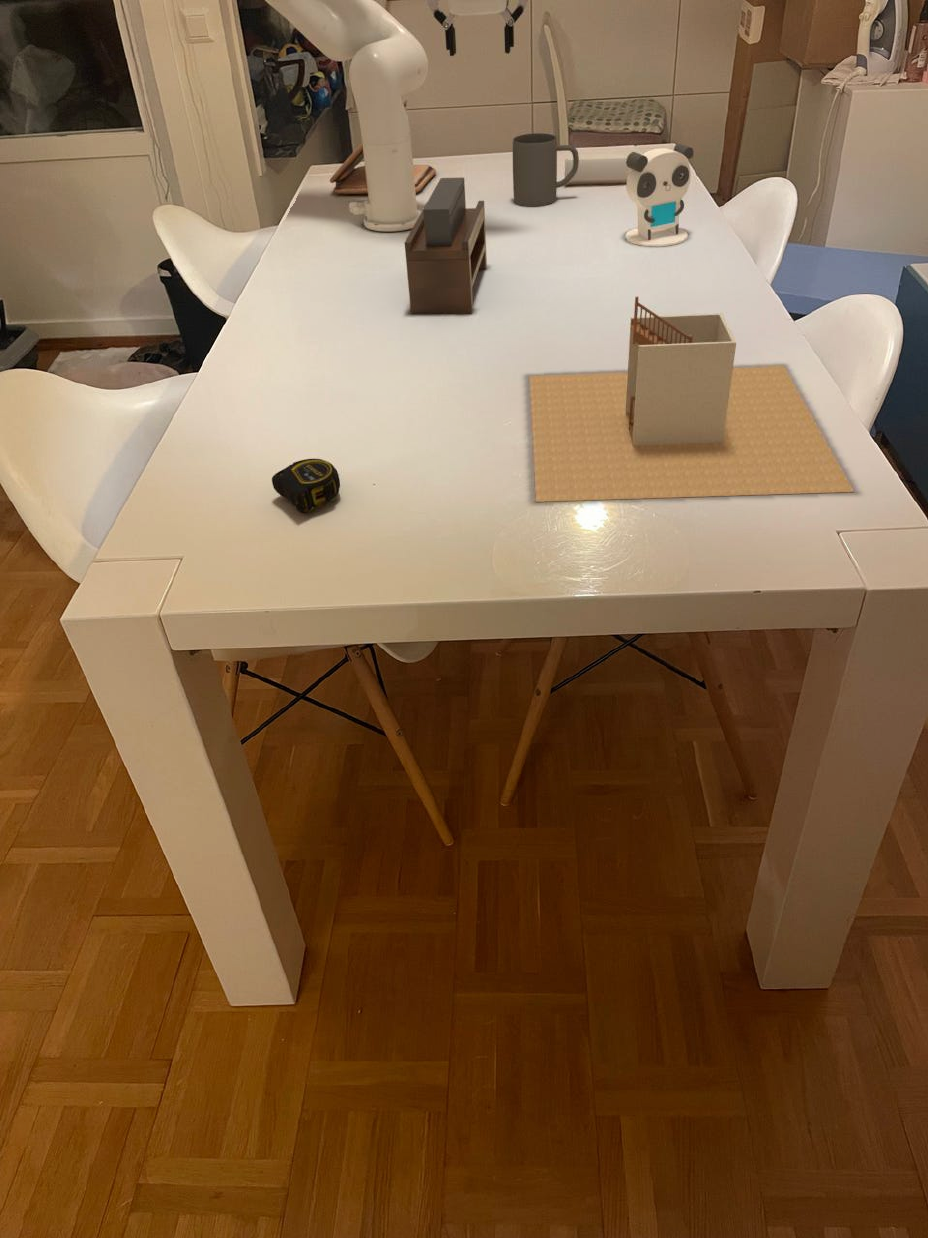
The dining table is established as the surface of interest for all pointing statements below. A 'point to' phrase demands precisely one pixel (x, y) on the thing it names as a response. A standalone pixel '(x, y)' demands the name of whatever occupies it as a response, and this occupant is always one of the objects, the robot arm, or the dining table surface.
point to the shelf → (446, 266)
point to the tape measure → (307, 483)
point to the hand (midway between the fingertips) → (480, 53)
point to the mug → (538, 168)
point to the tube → (598, 171)
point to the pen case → (444, 212)
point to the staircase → (677, 423)
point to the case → (355, 178)
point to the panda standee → (658, 194)
